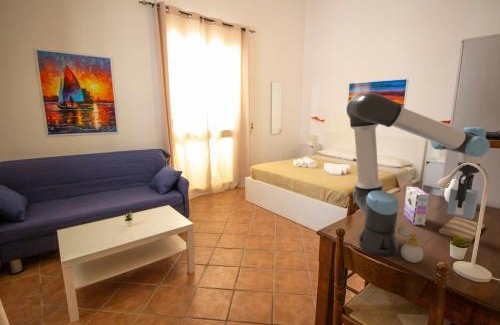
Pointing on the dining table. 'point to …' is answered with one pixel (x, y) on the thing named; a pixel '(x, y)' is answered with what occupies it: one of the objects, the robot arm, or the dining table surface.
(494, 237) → the dining table surface
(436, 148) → the robot arm
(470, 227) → the striped wooden board
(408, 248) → the perfume bottle
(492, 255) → the dining table surface
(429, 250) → the dining table surface
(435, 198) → the dining table surface
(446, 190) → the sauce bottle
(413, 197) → the candy box
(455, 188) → the slate block
